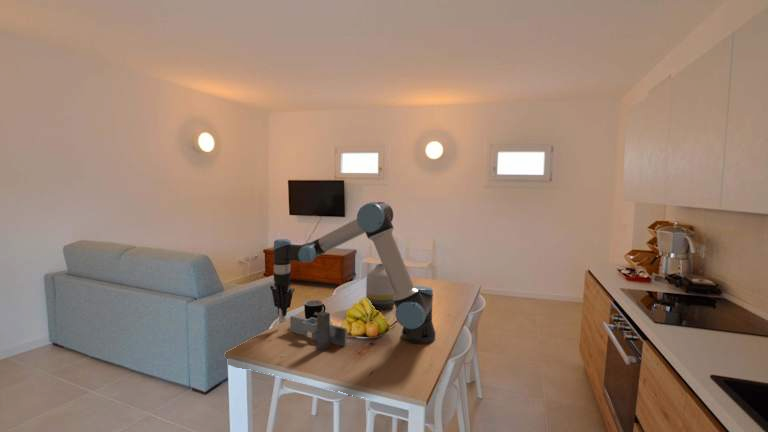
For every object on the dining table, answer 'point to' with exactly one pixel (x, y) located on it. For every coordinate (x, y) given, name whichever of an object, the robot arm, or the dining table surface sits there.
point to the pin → (323, 331)
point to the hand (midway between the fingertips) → (282, 322)
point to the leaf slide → (303, 325)
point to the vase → (379, 288)
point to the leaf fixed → (335, 335)
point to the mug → (313, 308)
